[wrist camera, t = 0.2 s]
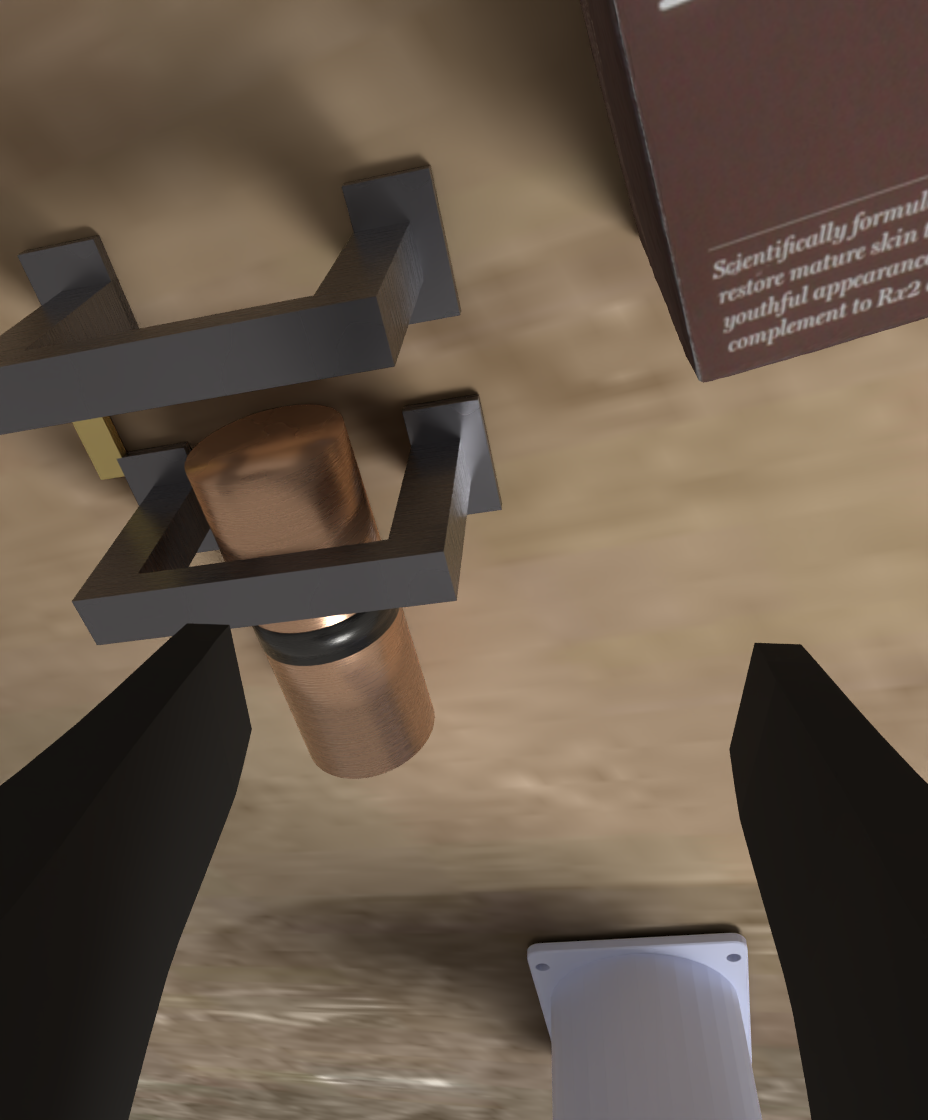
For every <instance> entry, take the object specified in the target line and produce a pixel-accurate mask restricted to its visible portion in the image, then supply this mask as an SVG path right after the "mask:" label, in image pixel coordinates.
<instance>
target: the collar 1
mask: <svg viewBox="0 0 928 1120" xmlns="http://www.w3.org/2000/svg"><path fill="white" fill-rule="evenodd" d="M342 190H343V193H344V197H345V201H346V205H347V208H348V212H349V216H350V220H351V223H352V227H353V231H354V233H353V234H352V236H351V238H350V239H349V241H348V242H347V244H346V246H345V247H344V249H343V250H342V252H341V253H340V255H339V257H338V258H337V260H336V261H335V263H334V264H333V266H332V268H331V269H330V271H329V272H328V274H327V275H326V277H325V279H324V280H323V282H322V283H321V285H320V286H319V288H318V290H317V291H316V293H315V294H314V296H309V297H303V298H298V299H293V300H288V301H282V302H277V303H272V304H267V305H262V306H256V307H251V308H246V309H241V310H235V311H230V312H225V313H220V314H214V315H209V316H204V317H199V318H193V319H188V320H183V321H178V322H172V323H167V324H162V325H157V326H151V327H146V328H141V329H139V328H138V325H137V323H136V321H135V318H134V316H133V314H132V311H131V309H130V307H129V304H128V302H127V300H126V297H125V295H124V293H123V290H122V288H121V286H120V283H119V281H118V279H117V276H116V274H115V272H114V269H113V267H112V265H111V262H110V260H109V258H108V255H107V253H106V251H105V248H104V246H103V244H102V241H101V239H100V237H99V235H98V236H94V237H89V238H84V239H80V240H75V241H70V242H65V243H61V244H56V245H51V246H47V247H42V248H37V249H33V250H28V251H24V252H22V253H20V254H19V255H17V256H18V258H19V260H20V262H21V264H22V266H23V268H24V270H25V272H26V274H27V276H28V279H29V281H30V283H31V285H32V287H33V289H34V291H35V293H36V295H37V297H38V299H39V301H40V303H41V305H42V306H41V307H39V308H38V309H37V310H35V311H34V312H32V313H31V314H30V315H28V316H27V317H25V318H24V319H23V320H21V321H20V322H19V323H17V324H16V325H14V326H13V327H12V328H10V329H9V330H8V331H6V332H5V333H3V334H2V335H1V336H0V435H2V434H7V433H13V432H19V431H25V430H30V429H36V428H42V427H48V426H54V425H59V424H65V423H71V422H77V421H82V420H88V419H94V418H100V417H106V416H111V415H117V414H123V413H129V412H134V411H140V410H146V409H152V408H157V407H163V406H169V405H175V404H181V403H186V402H192V401H198V400H204V399H209V398H215V397H221V396H227V395H233V394H238V393H244V392H250V391H256V390H261V389H267V388H273V387H279V386H284V385H290V384H296V383H302V382H308V381H313V380H319V379H325V378H331V377H336V376H342V375H348V374H354V373H360V372H365V371H371V370H377V369H383V368H388V367H394V366H395V364H396V361H397V358H398V355H399V352H400V349H401V346H402V343H403V340H404V337H405V334H406V331H407V328H408V325H409V324H414V323H420V322H425V321H431V320H436V319H442V318H447V317H453V316H458V315H460V313H461V308H460V303H459V298H458V293H457V289H456V284H455V279H454V274H453V270H452V265H451V260H450V255H449V251H448V246H447V241H446V237H445V232H444V227H443V222H442V218H441V213H440V208H439V203H438V199H437V194H436V189H435V184H434V180H433V175H432V170H431V166H430V165H428V166H423V167H418V168H414V169H409V170H404V171H399V172H395V173H390V174H385V175H381V176H376V177H371V178H367V179H362V180H357V181H352V182H348V183H344V184H343V185H342Z"/></svg>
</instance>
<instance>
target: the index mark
mask: <svg viewBox="0 0 928 1120" xmlns="http://www.w3.org/2000/svg"><path fill="white" fill-rule="evenodd" d="M72 423H73V425H74V427H75V429H76V431H77V433H78V435H79V437H80V439H81V441H82V443H83V445H84V447H85V449H86V451H87V453H88V455H89V457H90V459H91V461H92V463H93V465H94V467H95V469H96V471H97V473H98V475H99V477H100V479H101V480H104V479H111V478H117V477H123V476H124V474H123V472H122V470H121V467H120V465H119V463H118V461H117V459H118V458H122V457H123V456H124V455H125V453H126V450H125V448H124V446H123V444H122V442H121V440H120V437H119V435H118V433H117V431H116V429H115V427H114V425H113V423H112V421H111V419H110V417H109V416H106V417H100V418H94V419H88V420H82V421H77V422H72Z"/></svg>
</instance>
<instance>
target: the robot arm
mask: <svg viewBox="0 0 928 1120" xmlns="http://www.w3.org/2000/svg"><path fill="white" fill-rule="evenodd" d="M251 730H252V728H251V724H250V719H249V714H248V709H247V705H246V700H245V695H244V691H243V686H242V681H241V677H240V672H239V667H238V662H237V658H236V653H235V648H234V644H233V639H232V634H231V629H230V625H223V624H194V623H187V624H186V625H185V626H183V627H182V628H181V629H180V630H179V631H178V632H177V633H176V634H174V635H173V636H172V637H171V638H170V639H169V640H168V641H167V642H166V643H165V644H164V645H163V646H161V647H160V648H159V649H158V650H157V651H156V652H155V653H154V654H153V655H152V656H151V657H150V658H148V659H147V660H146V661H145V662H144V663H143V664H142V665H141V666H140V667H139V668H138V669H137V670H136V671H134V672H133V673H132V674H131V675H130V676H129V677H128V678H127V679H126V680H125V681H124V682H123V683H122V684H120V685H119V686H118V687H117V688H116V689H115V690H114V691H113V692H112V693H111V694H109V695H108V696H107V697H106V698H105V699H104V700H103V701H102V702H101V703H99V704H98V705H97V706H96V707H95V708H94V709H93V710H92V711H90V712H89V713H88V714H87V715H86V716H85V717H84V718H83V719H81V720H80V721H79V722H78V723H77V724H76V725H75V726H74V727H72V728H71V729H70V730H69V731H67V732H66V733H65V734H64V735H63V736H61V737H60V738H59V739H58V740H56V741H55V742H54V743H53V744H52V745H50V746H49V747H48V748H47V749H46V750H44V751H43V752H42V753H41V754H39V755H38V756H37V757H36V758H35V759H33V760H32V761H31V762H30V763H28V764H27V765H26V766H25V767H24V768H22V769H21V770H20V771H19V772H18V773H16V774H15V775H14V776H12V777H11V778H10V779H8V780H7V781H6V782H4V783H3V784H2V785H1V786H0V1120H128V1119H129V1115H130V1111H131V1107H132V1103H133V1099H134V1096H135V1092H136V1088H137V1084H138V1080H139V1076H140V1073H141V1069H142V1065H143V1061H144V1057H145V1053H146V1049H147V1046H148V1042H149V1038H150V1035H151V1031H152V1028H153V1024H154V1021H155V1017H156V1014H157V1010H158V1006H159V1003H160V999H161V996H162V992H163V989H164V985H165V981H166V978H167V975H168V971H169V969H170V966H171V963H172V960H173V957H174V954H175V951H176V948H177V945H178V942H179V940H180V937H181V934H182V932H183V929H184V927H185V924H186V922H187V919H188V917H189V914H190V911H191V909H192V906H193V904H194V901H195V899H196V896H197V894H198V891H199V889H200V886H201V883H202V881H203V878H204V876H205V873H206V871H207V868H208V866H209V863H210V860H211V858H212V855H213V853H214V850H215V848H216V845H217V843H218V840H219V837H220V835H221V832H222V829H223V827H224V824H225V822H226V819H227V816H228V814H229V811H230V809H231V806H232V803H233V800H234V798H235V795H236V791H237V787H238V784H239V780H240V776H241V772H242V768H243V764H244V760H245V756H246V751H247V747H248V743H249V739H250V734H251ZM730 757H731V764H732V771H733V778H734V785H735V792H736V798H737V804H738V810H739V817H740V821H741V825H742V828H743V832H744V836H745V840H746V843H747V847H748V850H749V854H750V858H751V861H752V865H753V868H754V872H755V876H756V879H757V883H758V886H759V890H760V893H761V897H762V900H763V904H764V907H765V911H766V914H767V918H768V921H769V925H770V928H771V932H772V935H773V939H774V942H775V946H776V949H777V953H778V956H779V960H780V963H781V967H782V970H783V974H784V978H785V982H786V986H787V990H788V994H789V999H790V1003H791V1007H792V1011H793V1017H794V1022H795V1028H796V1033H797V1039H798V1044H799V1050H800V1055H801V1061H802V1066H803V1072H804V1077H805V1083H806V1088H807V1095H808V1101H809V1107H810V1113H811V1119H812V1120H928V784H927V783H926V782H925V781H924V780H923V779H922V778H921V777H920V776H919V775H918V774H917V773H916V772H915V771H914V769H913V768H912V767H911V766H910V765H909V764H908V763H907V762H906V761H905V760H904V759H903V758H902V757H901V756H900V755H899V754H898V753H897V751H896V750H895V749H894V748H893V747H892V746H891V745H890V744H889V743H888V742H887V741H886V740H885V739H884V738H883V737H882V736H881V734H880V733H879V732H878V731H877V730H876V729H875V728H874V727H873V726H872V724H871V723H870V722H869V721H868V720H867V719H866V718H865V717H864V716H863V714H862V713H861V712H860V711H859V710H858V709H857V708H856V707H855V705H854V704H853V703H852V702H851V701H850V700H849V699H848V697H847V696H846V695H845V694H844V693H843V692H842V691H841V689H840V688H839V687H838V686H837V685H836V684H835V683H834V681H833V680H832V679H831V678H830V677H829V676H828V674H827V673H826V672H825V671H824V670H823V669H822V668H821V666H820V665H819V664H818V663H817V662H816V661H815V660H814V659H813V657H812V656H811V655H810V654H809V653H808V652H807V651H806V650H805V648H804V647H803V646H802V645H800V644H771V643H755V644H754V648H753V652H752V656H751V661H750V665H749V669H748V673H747V677H746V682H745V686H744V690H743V694H742V699H741V703H740V707H739V711H738V715H737V720H736V724H735V728H734V732H733V737H732V741H731V745H730ZM527 960H528V964H529V967H530V970H531V974H532V977H533V981H534V984H535V988H536V991H537V994H538V998H539V1001H540V1005H541V1008H542V1011H543V1015H544V1018H545V1022H546V1025H547V1028H548V1032H549V1035H550V1039H551V1042H552V1101H553V1120H762V1116H761V1111H760V1106H759V1101H758V1096H757V1091H756V1085H755V1080H754V1075H753V1070H752V1065H751V1064H752V1054H751V1028H750V1001H749V975H748V949H747V944H746V940H745V937H743V936H742V935H740V934H737V933H717V934H698V935H680V936H662V937H643V938H625V939H607V940H588V941H570V942H552V943H537V944H533V945H531V946H530V947H529V948H528V949H527Z"/></svg>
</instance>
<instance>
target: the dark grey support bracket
mask: <svg viewBox="0 0 928 1120" xmlns="http://www.w3.org/2000/svg"><path fill="white" fill-rule="evenodd" d="M402 413H403V417H404V421H405V425H406V428H407V432H408V436H409V439H410V443H411V449H410V453H409V457H408V462H407V466H406V470H405V474H404V478H403V482H402V486H401V490H400V494H399V498H398V502H397V506H396V510H395V514H394V518H393V522H392V527H391V531H390V535H389V539H388V540H381V541H374V542H367V543H360V544H352V545H345V546H338V547H331V548H324V549H316V550H309V551H302V552H295V553H287V554H280V555H273V556H266V557H258V558H251V559H244V560H237V561H230V562H222V563H215V564H208V565H201V566H193V567H189V565H190V563H191V562H192V560H193V558H194V556H195V555H196V553H199V552H206V551H213V550H220V549H219V547H218V544H217V542H216V540H215V538H214V535H213V533H212V531H211V529H210V526H209V524H208V522H207V520H206V517H205V515H204V513H203V510H202V508H201V506H200V504H199V501H198V499H197V497H196V495H195V492H194V490H193V488H192V486H191V483H190V481H189V479H188V476H187V474H186V472H185V468H184V465H185V461H186V458H187V456H188V455H189V453H190V452H191V449H190V446H189V444H188V442H185V443H179V444H173V445H166V446H160V447H154V448H148V449H142V450H136V451H130V452H126V453H125V455H124V456H123V457H122V458H118V459H117V461H118V463H119V465H120V467H121V470H122V472H123V474H124V476H125V478H126V480H127V482H128V484H129V486H130V488H131V490H132V492H133V494H134V496H135V498H136V500H137V502H138V504H139V507H138V509H137V510H136V512H135V513H134V514H133V516H132V517H131V519H130V520H129V521H128V523H127V524H126V526H125V527H124V528H123V530H122V531H121V533H120V534H119V536H118V537H117V538H116V540H115V541H114V543H113V544H112V545H111V547H110V548H109V550H108V551H107V552H106V554H105V555H104V557H103V558H102V560H101V561H100V562H99V564H98V565H97V567H96V568H95V569H94V571H93V572H92V574H91V575H90V576H89V578H88V579H87V581H86V582H85V584H84V585H83V586H82V588H81V589H80V591H79V592H78V593H77V595H76V596H75V598H74V599H73V600H72V603H73V604H74V606H75V608H76V610H77V611H78V613H79V615H80V617H81V618H82V620H83V622H84V623H85V625H86V627H87V629H88V630H89V632H90V634H91V635H92V637H93V639H94V641H95V642H96V644H97V645H103V644H111V643H119V642H127V641H135V640H143V639H151V638H159V637H167V636H173V635H174V634H176V633H177V632H178V631H179V630H180V629H181V628H182V627H183V626H185V625H186V624H187V623H194V624H223V625H230V629H232V628H240V627H248V626H256V625H264V624H272V623H280V622H288V621H296V620H304V619H312V618H321V617H329V616H337V615H345V614H353V613H361V612H369V611H377V610H385V609H393V608H401V607H409V606H417V605H425V604H433V603H441V602H449V601H457V594H458V585H459V577H460V568H461V560H462V551H463V543H464V534H465V526H466V517H467V515H468V514H475V513H482V512H489V511H496V510H502V502H501V497H500V492H499V487H498V483H497V478H496V473H495V468H494V464H493V459H492V454H491V450H490V445H489V440H488V435H487V431H486V426H485V421H484V416H483V412H482V407H481V402H480V397H479V394H476V395H470V396H464V397H458V398H452V399H446V400H440V401H433V402H427V403H421V404H415V405H409V406H404V407H403V411H402Z"/></svg>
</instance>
